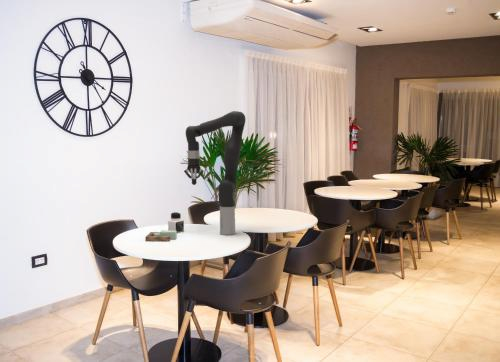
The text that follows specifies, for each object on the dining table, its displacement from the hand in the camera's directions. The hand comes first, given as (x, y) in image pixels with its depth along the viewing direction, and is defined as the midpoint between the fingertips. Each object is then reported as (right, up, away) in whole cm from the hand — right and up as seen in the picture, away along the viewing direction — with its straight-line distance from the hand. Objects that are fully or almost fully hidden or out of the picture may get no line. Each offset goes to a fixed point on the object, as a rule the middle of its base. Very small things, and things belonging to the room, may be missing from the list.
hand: (194, 184), depth 301 cm
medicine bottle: (-11, -30, -2) cm, 32 cm away
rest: (-17, -32, -22) cm, 42 cm away
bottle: (-8, -30, -23) cm, 38 cm away
